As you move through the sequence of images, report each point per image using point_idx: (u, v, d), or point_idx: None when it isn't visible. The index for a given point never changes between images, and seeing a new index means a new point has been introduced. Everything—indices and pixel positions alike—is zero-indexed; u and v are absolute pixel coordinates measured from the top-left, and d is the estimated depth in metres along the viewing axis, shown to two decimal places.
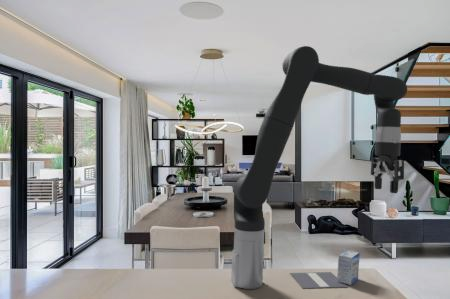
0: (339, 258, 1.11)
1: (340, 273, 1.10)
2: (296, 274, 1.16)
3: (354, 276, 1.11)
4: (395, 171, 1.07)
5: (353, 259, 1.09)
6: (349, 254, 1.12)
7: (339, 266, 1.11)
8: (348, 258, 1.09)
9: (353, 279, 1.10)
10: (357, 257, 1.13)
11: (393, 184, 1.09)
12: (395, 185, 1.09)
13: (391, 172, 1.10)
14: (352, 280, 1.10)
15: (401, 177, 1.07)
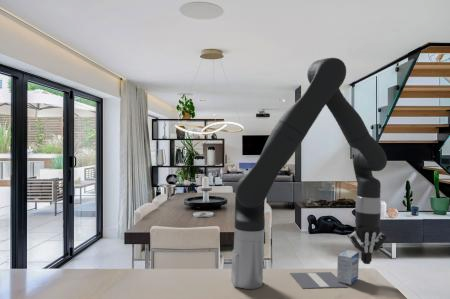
0: (338, 258, 1.11)
1: (340, 273, 1.11)
2: (296, 274, 1.16)
3: (354, 276, 1.11)
4: (379, 244, 1.13)
5: (352, 258, 1.10)
6: (348, 254, 1.12)
7: (338, 266, 1.11)
8: (347, 258, 1.09)
9: (353, 279, 1.10)
10: (356, 256, 1.13)
11: (370, 255, 1.13)
12: None
13: None
14: (352, 280, 1.10)
15: None
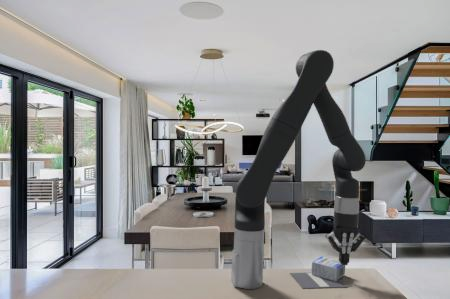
0: (314, 274, 1.16)
1: (328, 276, 1.13)
2: (296, 274, 1.16)
3: (335, 264, 1.15)
4: (357, 245, 1.12)
5: (315, 261, 1.17)
6: None
7: (321, 276, 1.14)
8: (313, 265, 1.16)
9: (336, 265, 1.14)
10: (321, 258, 1.20)
11: (348, 256, 1.12)
12: None
13: None
14: (335, 266, 1.13)
15: None
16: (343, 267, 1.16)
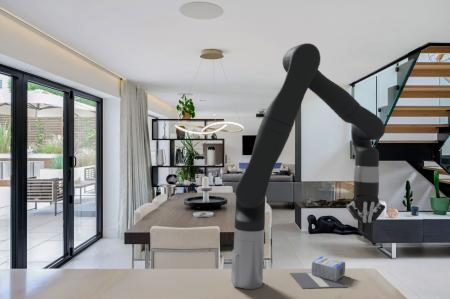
0: (314, 274, 1.16)
1: (328, 276, 1.13)
2: (296, 274, 1.16)
3: (335, 264, 1.15)
4: (378, 214, 1.12)
5: (315, 261, 1.17)
6: None
7: (321, 276, 1.14)
8: (313, 265, 1.16)
9: (336, 265, 1.14)
10: (321, 258, 1.20)
11: (369, 225, 1.13)
12: None
13: None
14: (335, 266, 1.13)
15: None
16: (343, 267, 1.16)
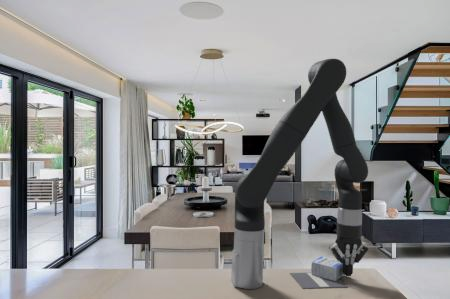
0: (314, 274, 1.16)
1: (327, 276, 1.13)
2: (296, 274, 1.16)
3: (334, 263, 1.15)
4: (361, 256, 1.12)
5: (314, 261, 1.17)
6: None
7: (321, 275, 1.14)
8: (312, 265, 1.16)
9: (335, 265, 1.14)
10: (320, 258, 1.20)
11: (351, 267, 1.12)
12: None
13: None
14: (334, 265, 1.13)
15: None
16: None
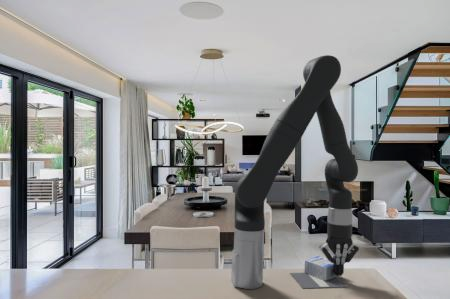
0: (306, 272, 1.17)
1: (318, 275, 1.13)
2: (296, 274, 1.16)
3: (327, 263, 1.15)
4: (352, 255, 1.12)
5: (308, 259, 1.18)
6: None
7: (312, 274, 1.15)
8: (305, 263, 1.17)
9: (327, 264, 1.14)
10: (316, 257, 1.20)
11: (342, 267, 1.12)
12: None
13: None
14: (326, 265, 1.13)
15: None
16: None
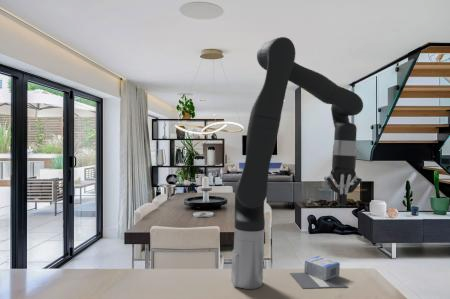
0: (306, 272, 1.17)
1: (318, 275, 1.13)
2: (296, 274, 1.16)
3: (327, 263, 1.15)
4: (354, 186, 1.18)
5: (308, 259, 1.18)
6: None
7: (312, 274, 1.15)
8: (305, 263, 1.17)
9: (327, 264, 1.14)
10: (316, 257, 1.20)
11: (345, 197, 1.18)
12: None
13: None
14: (326, 265, 1.13)
15: None
16: (336, 267, 1.15)
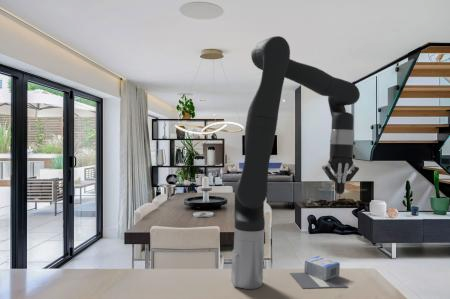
0: (306, 272, 1.17)
1: (318, 275, 1.13)
2: (296, 274, 1.16)
3: (327, 263, 1.15)
4: (352, 175, 1.19)
5: (308, 259, 1.18)
6: None
7: (312, 274, 1.15)
8: (305, 263, 1.17)
9: (327, 264, 1.14)
10: (316, 257, 1.20)
11: (343, 186, 1.20)
12: None
13: None
14: (326, 265, 1.13)
15: None
16: (336, 267, 1.15)
